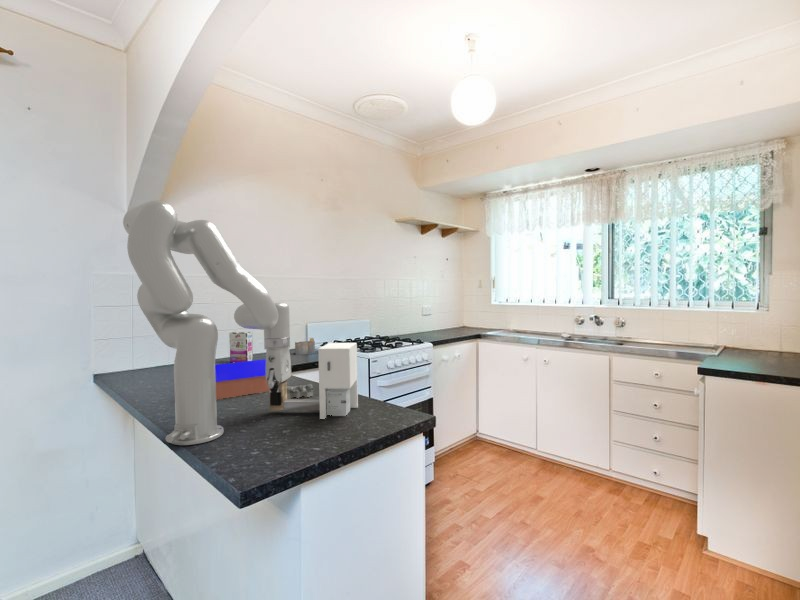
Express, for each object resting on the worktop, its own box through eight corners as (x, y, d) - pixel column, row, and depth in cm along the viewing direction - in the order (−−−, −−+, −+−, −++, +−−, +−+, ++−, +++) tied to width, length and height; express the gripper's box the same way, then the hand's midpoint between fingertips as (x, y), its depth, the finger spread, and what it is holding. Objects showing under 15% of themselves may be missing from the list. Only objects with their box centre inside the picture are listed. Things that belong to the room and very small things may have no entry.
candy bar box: (253, 361, 216) (252, 331, 216) (247, 363, 211) (246, 332, 211) (236, 361, 219) (235, 331, 219) (229, 362, 214) (228, 332, 214)
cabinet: (350, 420, 115) (348, 348, 114) (319, 420, 115) (317, 349, 115) (358, 406, 128) (356, 342, 128) (330, 406, 129) (328, 342, 128)
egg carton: (282, 401, 137) (281, 389, 137) (282, 395, 145) (282, 384, 145) (313, 398, 140) (313, 386, 140) (312, 392, 148) (312, 381, 148)
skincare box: (326, 416, 119) (325, 391, 119) (331, 410, 125) (331, 386, 125) (346, 416, 118) (346, 391, 118) (350, 410, 124) (350, 386, 124)
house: (207, 394, 148) (206, 362, 148) (262, 386, 159) (261, 357, 159) (213, 401, 138) (212, 367, 138) (271, 392, 150) (270, 361, 149)
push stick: (327, 410, 120) (326, 383, 120) (269, 410, 120) (269, 383, 120) (330, 406, 124) (329, 380, 124) (274, 406, 124) (274, 380, 124)
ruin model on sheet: (313, 353, 247) (313, 337, 247) (315, 353, 244) (314, 337, 244) (295, 354, 242) (294, 338, 241) (296, 355, 239) (296, 339, 239)
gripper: (279, 347, 113) (281, 411, 114) (297, 339, 130) (298, 395, 131) (253, 347, 114) (255, 411, 114) (274, 340, 130) (276, 396, 131)
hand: (278, 402), depth 122 cm, fingers closed on push stick, 4 cm apart
